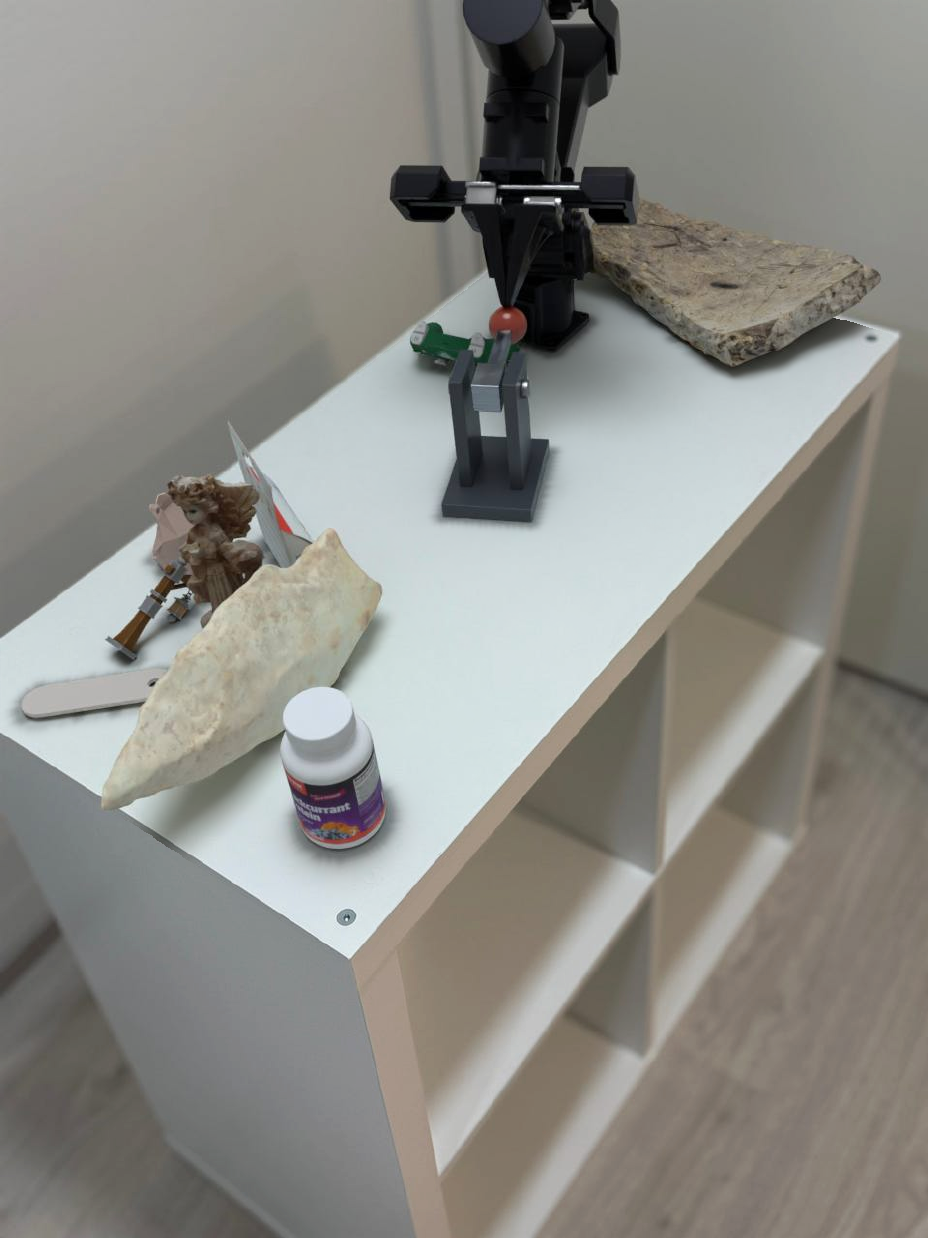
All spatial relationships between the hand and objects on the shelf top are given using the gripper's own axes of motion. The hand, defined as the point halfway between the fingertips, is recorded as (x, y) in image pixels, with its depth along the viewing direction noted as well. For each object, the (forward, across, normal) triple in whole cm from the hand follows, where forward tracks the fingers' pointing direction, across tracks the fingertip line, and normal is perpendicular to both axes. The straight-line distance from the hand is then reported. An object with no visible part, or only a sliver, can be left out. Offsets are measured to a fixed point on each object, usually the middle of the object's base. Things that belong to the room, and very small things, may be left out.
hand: (506, 305), depth 97 cm
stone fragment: (-4, -9, -16) cm, 18 cm away
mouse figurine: (+22, +21, +6) cm, 31 cm away
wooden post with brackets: (+27, +22, +11) cm, 36 cm away
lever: (+5, 0, 0) cm, 5 cm away
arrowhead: (+21, +9, +11) cm, 25 cm away
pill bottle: (+37, +4, +21) cm, 43 cm away
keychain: (+32, +23, +18) cm, 43 cm away
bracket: (+14, 0, -2) cm, 14 cm away
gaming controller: (+2, +6, -14) cm, 16 cm away
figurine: (+28, +14, +12) cm, 34 cm away
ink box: (+22, +13, +6) cm, 26 cm away
